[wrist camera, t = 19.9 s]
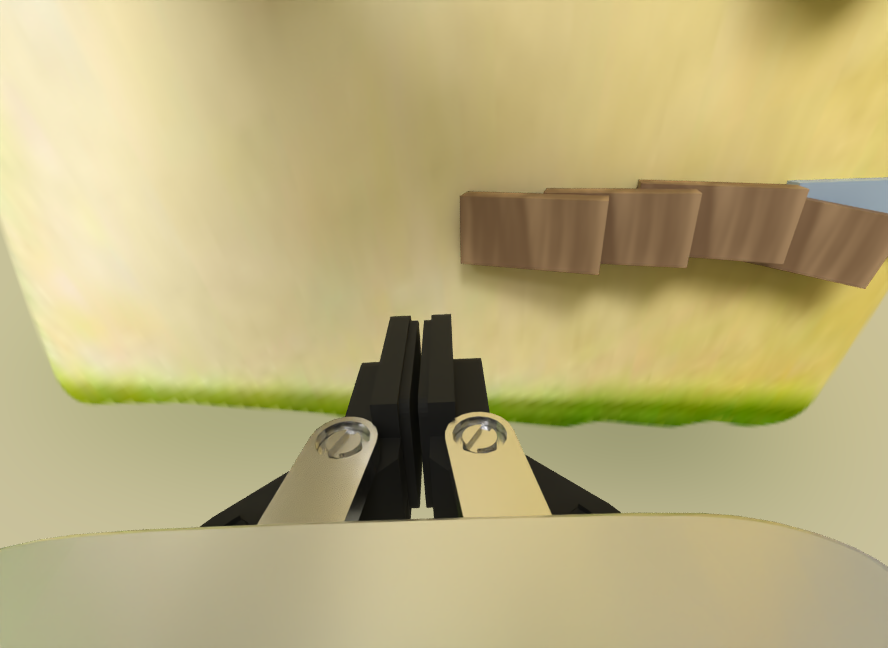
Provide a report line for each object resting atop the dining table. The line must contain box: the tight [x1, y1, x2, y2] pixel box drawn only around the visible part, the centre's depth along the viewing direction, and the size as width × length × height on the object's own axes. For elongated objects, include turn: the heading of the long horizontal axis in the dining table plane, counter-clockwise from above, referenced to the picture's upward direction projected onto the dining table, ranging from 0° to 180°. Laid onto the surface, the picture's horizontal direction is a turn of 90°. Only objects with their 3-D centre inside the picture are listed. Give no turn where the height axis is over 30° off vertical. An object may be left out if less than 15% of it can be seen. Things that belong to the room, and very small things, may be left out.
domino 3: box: [637, 180, 810, 264], centre depth 31 cm, size 2×5×10 cm
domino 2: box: [544, 188, 702, 268], centre depth 31 cm, size 2×5×10 cm
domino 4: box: [787, 177, 888, 213], centre depth 33 cm, size 2×5×10 cm
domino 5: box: [744, 197, 888, 289], centre depth 31 cm, size 2×5×10 cm
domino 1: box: [460, 191, 609, 275], centre depth 31 cm, size 2×5×10 cm
